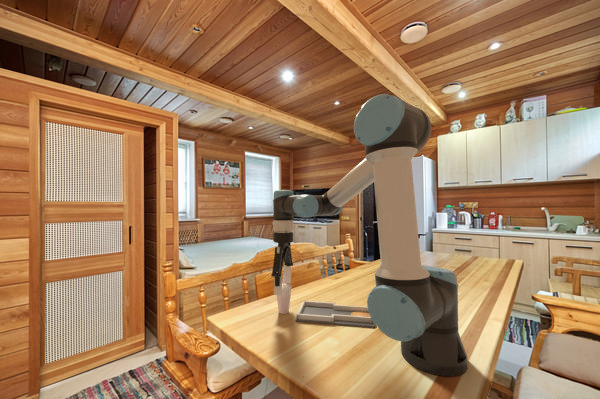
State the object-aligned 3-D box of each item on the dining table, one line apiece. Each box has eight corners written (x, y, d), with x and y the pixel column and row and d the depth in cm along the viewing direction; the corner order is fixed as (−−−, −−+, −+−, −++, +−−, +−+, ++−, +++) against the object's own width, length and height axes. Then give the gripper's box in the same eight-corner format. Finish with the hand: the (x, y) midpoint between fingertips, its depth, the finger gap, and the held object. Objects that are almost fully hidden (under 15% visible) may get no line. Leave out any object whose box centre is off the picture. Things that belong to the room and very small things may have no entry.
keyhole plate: (375, 327, 80) (374, 321, 80) (295, 321, 85) (295, 315, 85) (371, 310, 93) (371, 304, 93) (302, 305, 98) (302, 300, 98)
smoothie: (293, 308, 96) (293, 271, 96) (291, 315, 89) (290, 276, 90) (276, 307, 96) (276, 271, 97) (273, 315, 90) (273, 276, 90)
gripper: (282, 227, 106) (282, 277, 106) (262, 235, 82) (262, 300, 82) (299, 228, 105) (299, 278, 105) (284, 236, 81) (284, 302, 80)
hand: (283, 288), depth 93 cm, fingers open, 13 cm apart
